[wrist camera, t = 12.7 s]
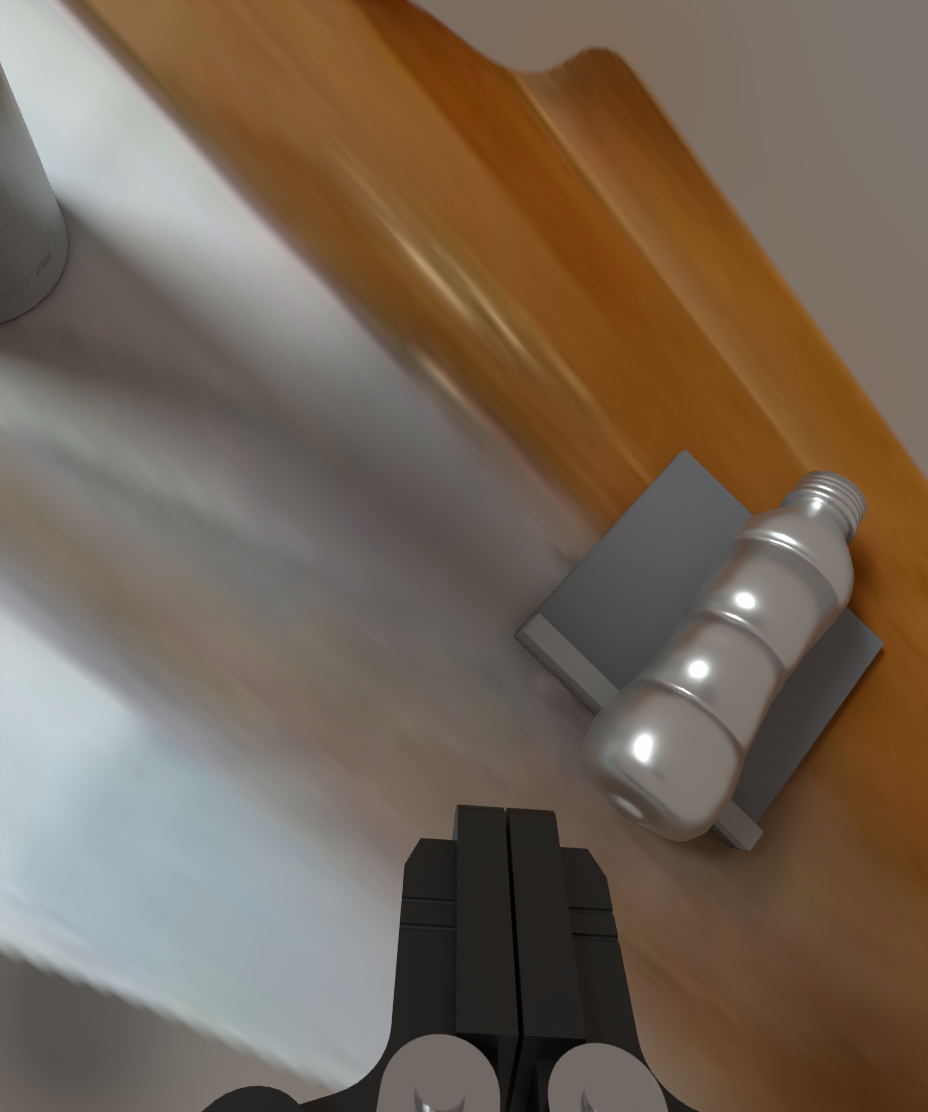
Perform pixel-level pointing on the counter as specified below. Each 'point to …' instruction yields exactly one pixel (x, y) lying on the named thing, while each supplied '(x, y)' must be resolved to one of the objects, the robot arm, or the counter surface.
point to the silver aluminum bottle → (726, 662)
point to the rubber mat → (656, 610)
